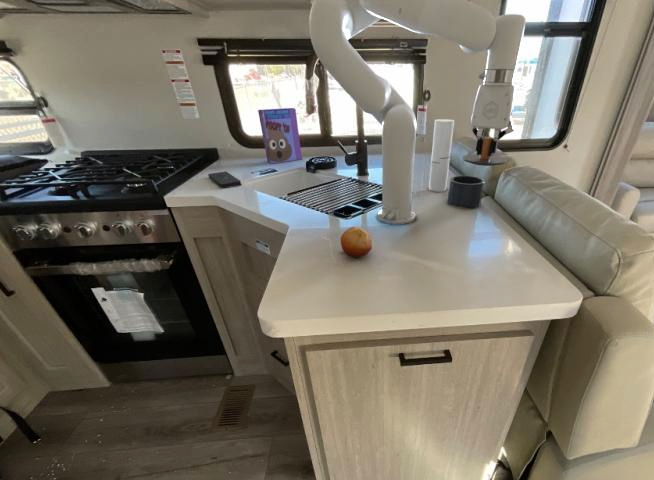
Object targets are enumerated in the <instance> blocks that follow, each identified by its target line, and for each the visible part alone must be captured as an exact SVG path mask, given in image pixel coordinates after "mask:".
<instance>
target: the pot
mask: <svg viewBox="0 0 654 480" xmlns="http://www.w3.org/2000/svg"><path fill="white" fill-rule="evenodd" d="M484 185H485V180H484V179H483V178H481V177H478V176H473V175H455V176H452V177H450V179H449V185H448V186H449V188H448V196H447V204H448V205H449V206H451V207H452V206H453V207H458V208H463V209H469V210H473V209H477V208H479V207H480V206H481V201H482V196H483V192H484Z"/></svg>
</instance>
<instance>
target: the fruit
mask: <svg viewBox="0 0 654 480" xmlns="http://www.w3.org/2000/svg"><path fill="white" fill-rule="evenodd" d="M340 246H341V249H342V252H341V254H345V255H346V256H348V257H351V258H353V259H359V258H362V257H363V256H365V255H367V254H368V253H369V252H370V251H371V250H372V247H373V241H372V238H371V234H370V233H369V232H367V231H366V230H365V229H364V228H361V227H356V226H352V227H348V228H347V229H346V230H345V231H344V232H343V233H342V234H341V235H340Z"/></svg>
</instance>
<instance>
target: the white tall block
mask: <svg viewBox="0 0 654 480" xmlns="http://www.w3.org/2000/svg"><path fill="white" fill-rule="evenodd" d="M454 126H455V120H454V119H449V118H448V119H446V118H437V119H434V125H433V136H432V148H431V158H430V160H431V161H430V169H429V179H428V181H429V182H428V190H429V191H430V192H437V193H439V192H445V191H446V190H447V184H448V176H449V168H450V160H451V153H452V152H451V150H452V144H453V135H454V128H455V127H454Z"/></svg>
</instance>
